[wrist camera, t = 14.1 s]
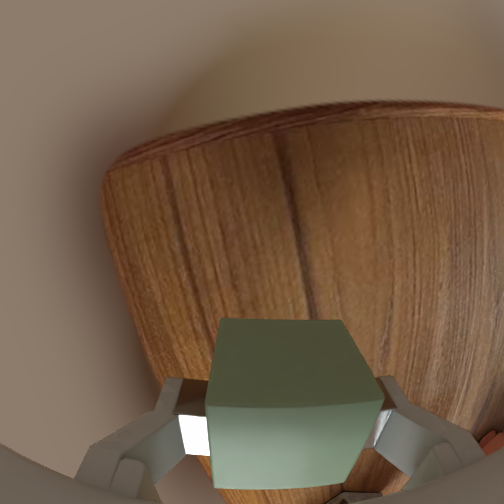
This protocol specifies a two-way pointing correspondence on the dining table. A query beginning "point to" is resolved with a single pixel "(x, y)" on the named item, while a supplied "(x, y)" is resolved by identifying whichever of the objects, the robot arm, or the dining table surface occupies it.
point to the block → (287, 404)
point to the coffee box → (353, 497)
